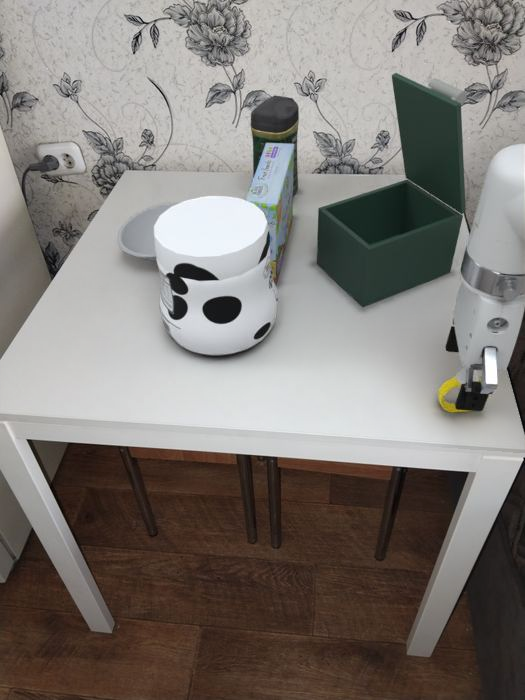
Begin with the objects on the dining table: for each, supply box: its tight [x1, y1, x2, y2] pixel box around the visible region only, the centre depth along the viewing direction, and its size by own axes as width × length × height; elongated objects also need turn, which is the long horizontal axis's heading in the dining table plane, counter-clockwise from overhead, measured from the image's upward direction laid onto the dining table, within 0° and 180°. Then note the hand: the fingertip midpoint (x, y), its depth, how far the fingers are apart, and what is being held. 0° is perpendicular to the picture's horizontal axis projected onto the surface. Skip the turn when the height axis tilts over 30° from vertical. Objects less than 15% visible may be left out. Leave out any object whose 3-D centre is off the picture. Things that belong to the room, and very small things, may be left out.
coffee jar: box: [250, 95, 300, 197], centre depth 112 cm, size 10×8×19 cm
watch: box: [437, 369, 490, 413], centre depth 75 cm, size 6×3×6 cm, turn 90°
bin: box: [316, 179, 464, 308], centre depth 96 cm, size 18×14×11 cm
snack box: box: [245, 143, 294, 286], centre depth 100 cm, size 21×6×15 cm, turn 171°
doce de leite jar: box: [154, 195, 279, 357], centre depth 84 cm, size 17×17×18 cm
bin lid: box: [391, 72, 468, 215], centre depth 88 cm, size 18×14×5 cm
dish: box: [116, 201, 182, 261], centre depth 104 cm, size 18×14×5 cm
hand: (462, 378), depth 73 cm, fingers open, 9 cm apart
